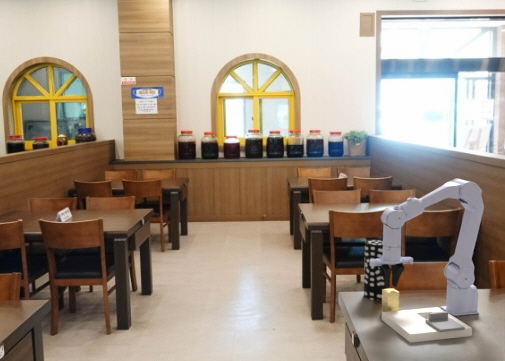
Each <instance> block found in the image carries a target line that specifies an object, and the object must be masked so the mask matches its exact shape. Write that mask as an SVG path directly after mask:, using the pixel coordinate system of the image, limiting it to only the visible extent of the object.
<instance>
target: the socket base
mask: <svg viewBox="0 0 505 361" xmlns="http://www.w3.org/2000/svg"><path fill="white" fill-rule="evenodd" d="M444 311H445V310H443V309H442V308H441V307H438V306H435V307H434V306H433V307H423V308H413V309H402V310H399V311H390V312H382V311H381V321H383V322H384V323H385V324H386V325H388V327H390V328H391V329H392V330H394V331H395V332H396V333H397V334H399V335H400V336H401V337H403V338H404V339H405V340H406V341H407V342H408V343H418V342H427V341H436V340H437V341H438V340H446V339H456V338H465V337H472V336H473V332H472V331H473V330H472V329H473V327H471V325H468V324H466V323H465V322H463V321H462V320H460V319H458V318H456V316H453V315H452V314H450V313H448V317H450V318H451V319H453V320H454V321H456V322H458V323H459V324H461V325H462V326H464V327H465V330H457V331H448V332H439V331H438V330H436V329H435V328H433V327H432V326H430V325H429V324H428V323H426V319H429V313H433V312H444Z"/></svg>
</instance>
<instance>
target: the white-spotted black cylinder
mask: <svg viewBox="0 0 505 361" xmlns="http://www.w3.org/2000/svg"><path fill="white" fill-rule="evenodd" d="M382 257H383V239H368V240H366V241H364V262H363V264H364V266H363V269H364V272H363V273H364V274H363V297H364V298H366V299H367V300H371V301H382V289H389V288H387V287H386V286H385V284H384V279H383V276H382V273H381V271H380V269H379V267H378V266H375V267H371V266H370V260H372V259H377V258H382Z"/></svg>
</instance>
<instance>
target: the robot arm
mask: <svg viewBox="0 0 505 361" xmlns="http://www.w3.org/2000/svg"><path fill="white" fill-rule="evenodd" d="M482 193H483V190H482V188H481V187H480V186H479V184H478V183H476V182H473V181H470V180H465V179H461V178H453V179H452V180H450V181H447V182H445V183H444V184H442V185H441V186H439V187H437V188H436V189H434V190H433V191H431V192H429V193H427V194H425V195H423V196H422V197H420V198H417V197H408V198H407V199H406V201H404V202H402V203H400V204H395V205H393V208H391V207H389V208H386V209H385V210H383V212H382V214H381V216H380V221H381V223H382V224H383V227H382V228H383V229H382V230H383V231H382V241H383V257H382V258H377V259H372V260H370V266H371V267H375V266H378V267H379V269H380V271H381V273H382V276H383V279H384V284H385V286H386V287H387V288H388V289H390V288H391V287H390V286H391V285H392V286H393V287H395V288H397V287H398V283H399V282H400V281H399V280H400V277H401V275H402V274H403V272H404V271H405V269H406V268H405V265H406V264H407V265H413V264H414V258H413V257H411V256H401V254H402V252H401V251H402V227H403V226H404V225H405V222H408V221H409V220H411V219H412V220H413V218H416V217H417V216H420V215H422V214H423V213H424V211H425V209H426V208H427V207H430V206H432V205H434V204H437V203H439V202H441V201H444V200H446V199H454V200H455V199H456V200H457V201H458V202H459V203H460V204H461V206H462V207H463V208H464V213H463V217H462V222H461V224H460V225H461V226H460V229H459V234H458V237H457V242H456V246H455V250H454V254H453V255H452V256H450V257H449V260H448V262H447V264H446V265H445V267H444V269H443V274H444V277H445V278H446V279H447V281H446V282H447V283H446V298H445V299H446V303H445V305H441V306H440V309H442V310H444V311H447V312H448V314H450V315H452V316H453V317H456V316H465V315H476V314H480V311H478V309H479V308H478V307H479V306H478V305H479V291H478V288H477V286H476V285H474V283H475V277H476V276H475V265H474V262H473V260H472V258H473V255H474V249H475V246H476V242H477V239H478V235H479V230H480V225H481V221H482V217H483V213H484V209H485V208H484V207H485V204H484V201H483V198H482Z"/></svg>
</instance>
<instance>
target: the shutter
mask: <svg viewBox="0 0 505 361" xmlns="http://www.w3.org/2000/svg"><path fill="white" fill-rule="evenodd" d="M448 314H449V313H448V312H447V311H445V310H444V312H433V313H429V319H426V323H428V324H429V325H430V326H432V327H433V328H435V329H436V330H438V331H439V332H448V331H457V330H465V327H464V326H462V325H461V324H459V323H458V322H456V321H454V320H453V319H451V318H450V317H448Z"/></svg>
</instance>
